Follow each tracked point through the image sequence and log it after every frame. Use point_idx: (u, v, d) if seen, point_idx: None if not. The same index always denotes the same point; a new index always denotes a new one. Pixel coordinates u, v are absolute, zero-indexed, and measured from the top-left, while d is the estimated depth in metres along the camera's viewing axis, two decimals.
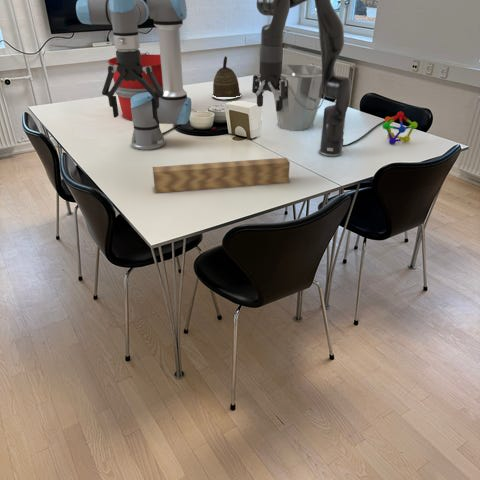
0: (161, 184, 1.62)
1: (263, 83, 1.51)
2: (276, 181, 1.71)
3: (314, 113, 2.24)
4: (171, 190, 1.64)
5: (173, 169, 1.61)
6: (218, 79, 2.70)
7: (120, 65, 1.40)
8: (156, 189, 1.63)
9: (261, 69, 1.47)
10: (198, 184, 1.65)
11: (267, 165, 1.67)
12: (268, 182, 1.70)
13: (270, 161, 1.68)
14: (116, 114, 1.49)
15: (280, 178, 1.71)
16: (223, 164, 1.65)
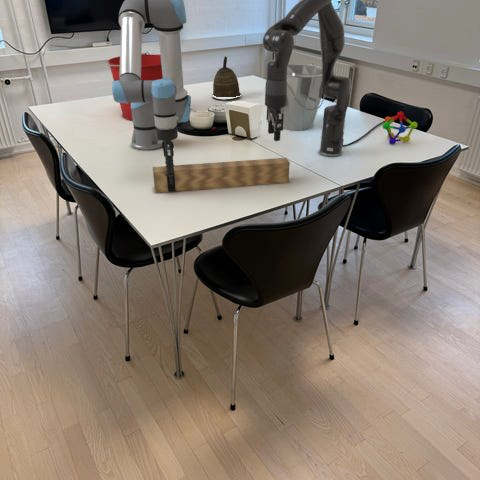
0: (161, 184, 1.62)
1: (268, 112, 1.60)
2: (276, 181, 1.71)
3: (314, 113, 2.24)
4: None
5: None
6: (218, 79, 2.70)
7: (170, 141, 1.54)
8: (156, 189, 1.63)
9: (265, 99, 1.57)
10: (198, 184, 1.65)
11: (267, 165, 1.67)
12: (268, 182, 1.70)
13: (270, 161, 1.68)
14: None
15: (280, 178, 1.71)
16: (223, 164, 1.65)
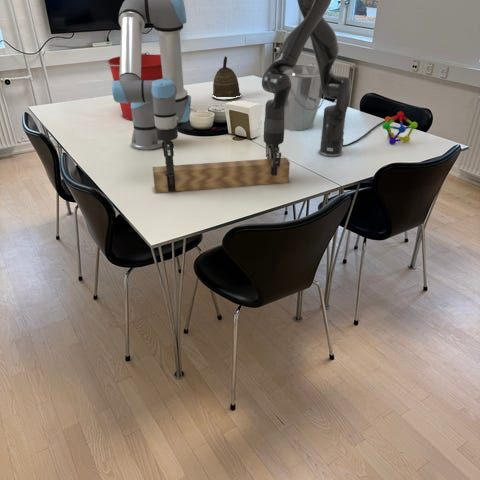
0: (161, 184, 1.62)
1: (267, 148, 1.67)
2: (276, 181, 1.71)
3: (314, 113, 2.24)
4: None
5: None
6: (218, 79, 2.70)
7: (170, 141, 1.54)
8: (156, 189, 1.63)
9: None
10: (198, 184, 1.65)
11: (267, 165, 1.67)
12: (268, 182, 1.70)
13: (270, 161, 1.68)
14: None
15: (280, 178, 1.71)
16: (223, 164, 1.65)
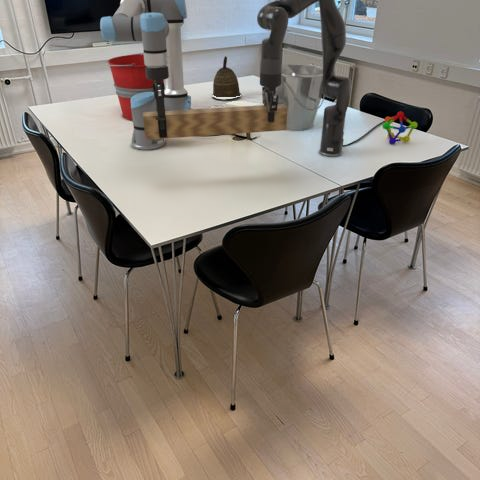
0: (152, 130, 1.54)
1: (263, 92, 1.58)
2: (273, 129, 1.62)
3: (314, 113, 2.24)
4: None
5: (165, 114, 1.53)
6: (218, 79, 2.70)
7: (161, 81, 1.46)
8: (146, 136, 1.54)
9: None
10: (191, 130, 1.56)
11: (264, 110, 1.58)
12: (265, 129, 1.62)
13: (266, 107, 1.60)
14: None
15: (277, 126, 1.62)
16: (217, 110, 1.57)
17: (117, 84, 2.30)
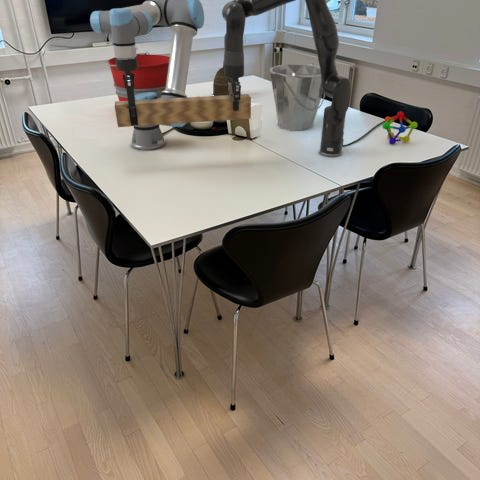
0: (123, 118, 1.65)
1: (228, 83, 1.70)
2: (238, 117, 1.74)
3: (314, 113, 2.24)
4: None
5: (135, 103, 1.64)
6: (218, 79, 2.70)
7: (131, 72, 1.57)
8: (118, 123, 1.66)
9: (224, 70, 1.67)
10: (160, 118, 1.68)
11: (228, 100, 1.69)
12: (230, 118, 1.73)
13: (231, 97, 1.71)
14: None
15: (242, 114, 1.73)
16: (185, 99, 1.68)
17: (117, 84, 2.30)
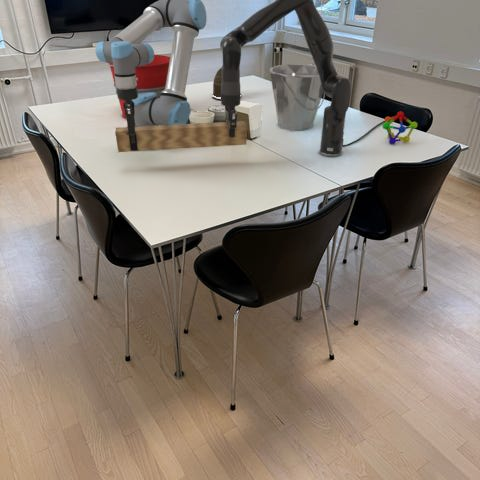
0: (123, 144, 1.72)
1: (225, 111, 1.76)
2: (234, 143, 1.80)
3: (314, 113, 2.24)
4: None
5: (135, 129, 1.71)
6: (218, 79, 2.70)
7: (131, 101, 1.64)
8: (119, 149, 1.72)
9: (221, 99, 1.73)
10: (159, 144, 1.74)
11: (225, 127, 1.76)
12: (226, 144, 1.80)
13: (228, 124, 1.78)
14: None
15: (238, 140, 1.80)
16: (183, 126, 1.75)
17: None
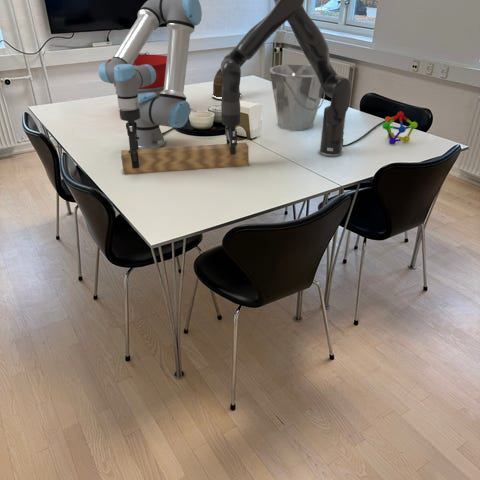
0: (129, 166, 1.77)
1: (225, 129, 1.80)
2: (237, 164, 1.85)
3: (314, 113, 2.24)
4: (139, 171, 1.79)
5: (140, 152, 1.76)
6: (218, 79, 2.70)
7: (133, 122, 1.68)
8: (124, 171, 1.77)
9: None
10: (164, 166, 1.79)
11: (227, 149, 1.81)
12: (229, 165, 1.85)
13: None
14: None
15: (240, 161, 1.85)
16: (187, 148, 1.80)
17: None
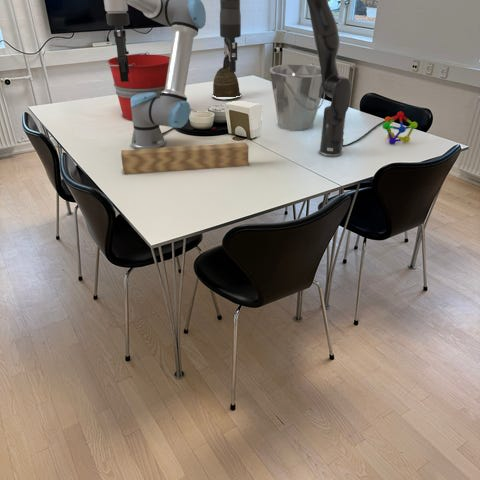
0: (129, 166, 1.77)
1: (224, 44, 1.63)
2: (237, 164, 1.85)
3: (314, 113, 2.24)
4: (139, 171, 1.79)
5: (140, 152, 1.76)
6: (218, 79, 2.70)
7: (121, 27, 1.51)
8: (124, 171, 1.77)
9: (220, 30, 1.60)
10: (164, 166, 1.79)
11: (227, 149, 1.81)
12: (229, 165, 1.85)
13: (230, 145, 1.83)
14: None
15: (240, 161, 1.85)
16: (187, 148, 1.80)
17: (117, 84, 2.30)
